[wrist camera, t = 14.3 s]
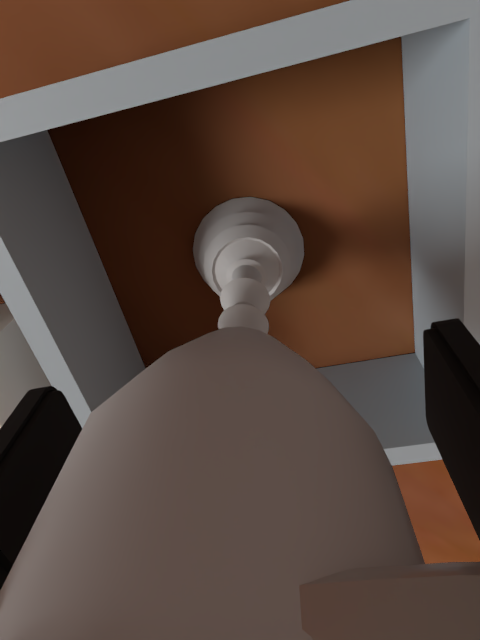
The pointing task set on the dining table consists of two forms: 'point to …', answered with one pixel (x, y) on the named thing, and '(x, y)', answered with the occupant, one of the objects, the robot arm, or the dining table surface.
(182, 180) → the dining table surface
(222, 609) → the chalice
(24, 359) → the frame
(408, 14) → the frame
